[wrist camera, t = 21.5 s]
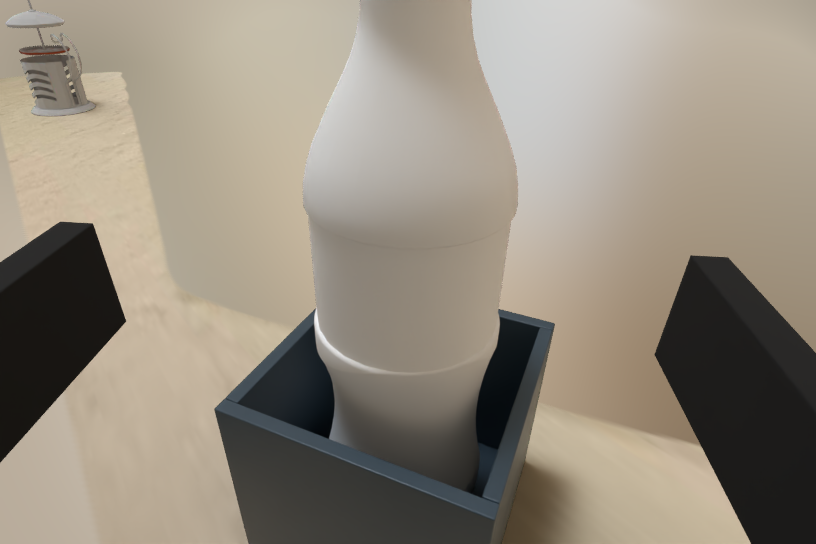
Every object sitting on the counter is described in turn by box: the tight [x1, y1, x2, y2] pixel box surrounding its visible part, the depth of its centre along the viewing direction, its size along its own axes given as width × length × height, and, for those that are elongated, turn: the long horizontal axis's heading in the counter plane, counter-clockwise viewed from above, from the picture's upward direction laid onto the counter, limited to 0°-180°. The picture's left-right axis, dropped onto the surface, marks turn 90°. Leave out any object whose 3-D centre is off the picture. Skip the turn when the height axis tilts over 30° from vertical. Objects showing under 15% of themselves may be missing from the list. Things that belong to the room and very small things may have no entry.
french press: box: [6, 0, 96, 116], centre depth 82 cm, size 10×12×25 cm
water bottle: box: [303, 0, 518, 494], centre depth 19 cm, size 7×7×25 cm
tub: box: [215, 309, 555, 544], centre depth 24 cm, size 11×11×10 cm
